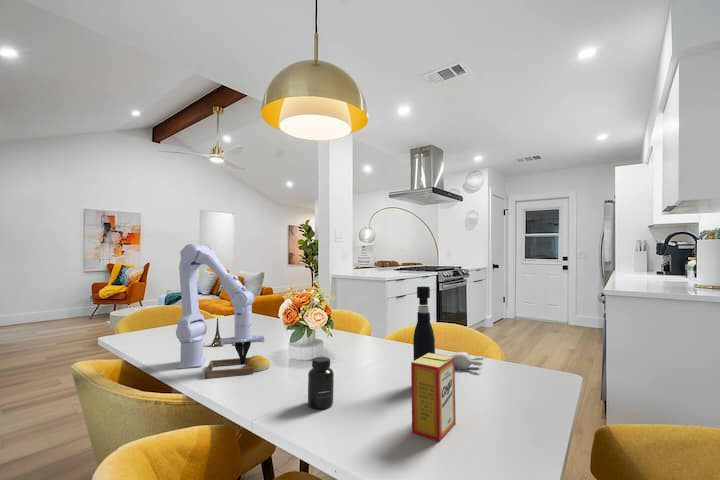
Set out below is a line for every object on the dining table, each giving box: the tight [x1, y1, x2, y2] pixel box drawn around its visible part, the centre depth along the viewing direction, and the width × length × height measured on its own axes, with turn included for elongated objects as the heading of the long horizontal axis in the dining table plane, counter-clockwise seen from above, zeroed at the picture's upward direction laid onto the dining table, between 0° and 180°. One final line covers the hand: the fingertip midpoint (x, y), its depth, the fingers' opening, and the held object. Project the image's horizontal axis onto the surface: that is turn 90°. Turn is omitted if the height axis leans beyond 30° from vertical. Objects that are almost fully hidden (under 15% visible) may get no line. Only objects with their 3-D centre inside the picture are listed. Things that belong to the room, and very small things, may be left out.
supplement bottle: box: [307, 356, 335, 410], centre depth 93 cm, size 7×7×12 cm
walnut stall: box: [204, 356, 254, 380], centre depth 121 cm, size 13×15×2 cm
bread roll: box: [244, 355, 271, 372], centre depth 123 cm, size 8×9×4 cm
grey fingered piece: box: [443, 351, 484, 371], centre depth 122 cm, size 10×5×15 cm
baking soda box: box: [410, 353, 457, 443], centre depth 80 cm, size 10×6×16 cm
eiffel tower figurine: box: [209, 317, 235, 348], centre depth 154 cm, size 15×10×13 cm
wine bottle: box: [412, 285, 436, 361], centre depth 105 cm, size 6×6×30 cm
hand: (242, 363), depth 122 cm, fingers closed
